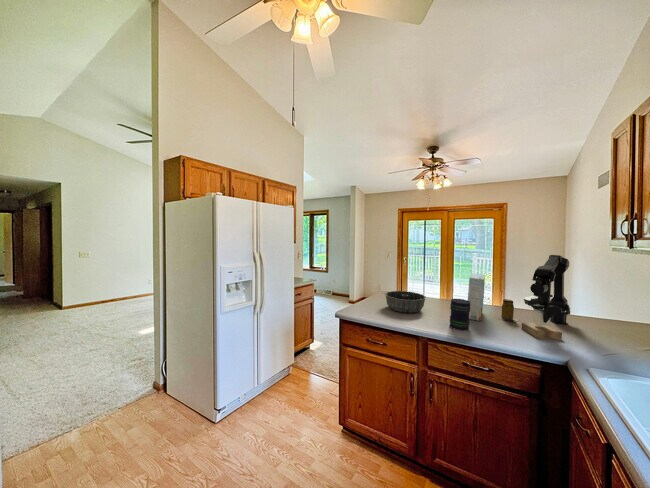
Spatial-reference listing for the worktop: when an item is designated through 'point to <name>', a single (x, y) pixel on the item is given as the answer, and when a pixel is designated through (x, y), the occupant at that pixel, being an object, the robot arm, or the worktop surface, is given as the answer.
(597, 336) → the worktop surface
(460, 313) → the storage jar
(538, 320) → the cream block
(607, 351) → the worktop surface
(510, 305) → the condiment
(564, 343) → the worktop surface
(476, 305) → the snack box
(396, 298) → the bundt pan
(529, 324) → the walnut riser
